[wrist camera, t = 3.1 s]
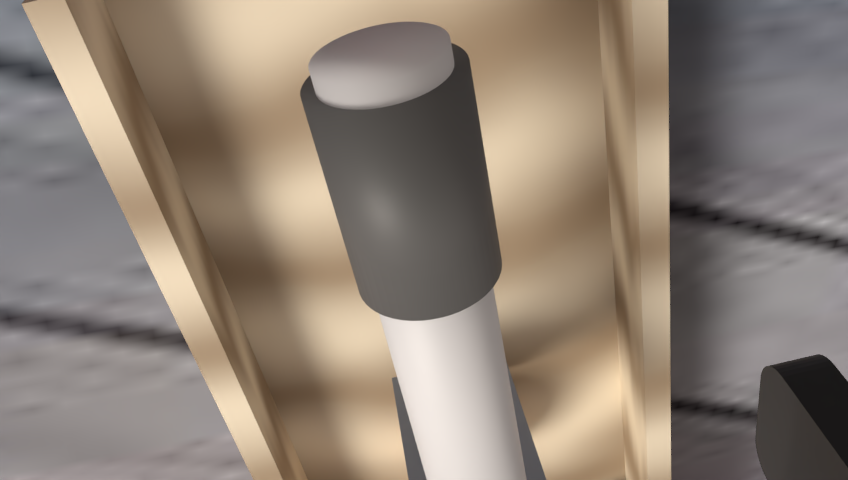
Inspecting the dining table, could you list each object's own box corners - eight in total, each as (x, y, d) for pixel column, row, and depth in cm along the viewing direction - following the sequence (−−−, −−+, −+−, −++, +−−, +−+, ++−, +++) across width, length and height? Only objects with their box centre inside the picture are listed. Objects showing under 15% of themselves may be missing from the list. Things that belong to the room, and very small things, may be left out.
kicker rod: (270, -35, 22) (265, 169, 13) (429, -73, 22) (538, 104, 13) (404, 419, 32) (453, 707, 23) (510, 393, 33) (601, 670, 23)
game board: (62, -48, 23) (-64, 112, 15) (605, -174, 23) (796, -90, 15) (356, 620, 44) (375, 844, 36) (639, 550, 45) (725, 756, 36)
